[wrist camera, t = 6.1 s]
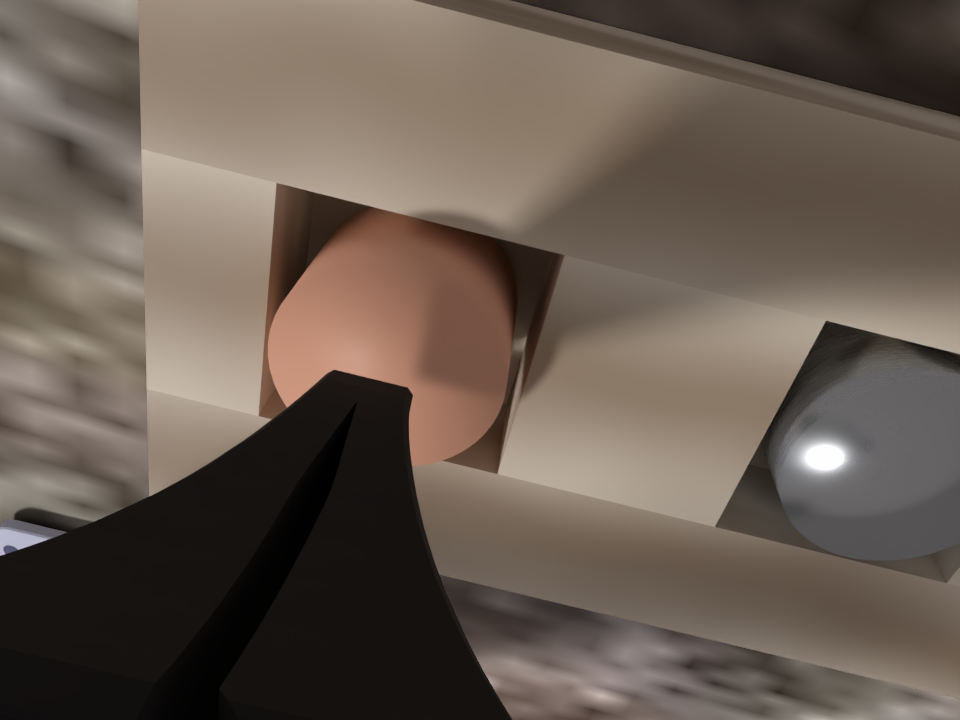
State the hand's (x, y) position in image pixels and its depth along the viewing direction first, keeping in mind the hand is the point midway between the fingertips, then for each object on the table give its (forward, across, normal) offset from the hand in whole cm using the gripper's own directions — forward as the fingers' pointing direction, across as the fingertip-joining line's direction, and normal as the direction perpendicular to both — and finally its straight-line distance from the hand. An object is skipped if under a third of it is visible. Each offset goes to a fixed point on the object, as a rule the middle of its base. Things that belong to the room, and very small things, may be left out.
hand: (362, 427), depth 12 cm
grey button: (+5, -10, 0) cm, 11 cm away
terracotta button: (+5, 0, 0) cm, 5 cm away
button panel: (+6, -5, 0) cm, 8 cm away
